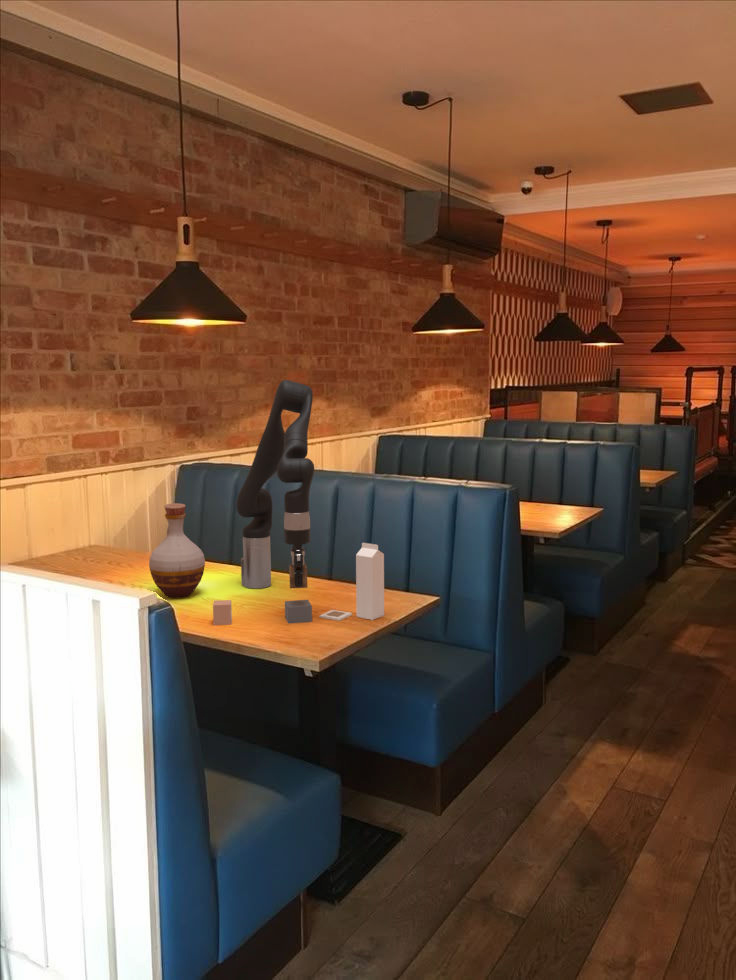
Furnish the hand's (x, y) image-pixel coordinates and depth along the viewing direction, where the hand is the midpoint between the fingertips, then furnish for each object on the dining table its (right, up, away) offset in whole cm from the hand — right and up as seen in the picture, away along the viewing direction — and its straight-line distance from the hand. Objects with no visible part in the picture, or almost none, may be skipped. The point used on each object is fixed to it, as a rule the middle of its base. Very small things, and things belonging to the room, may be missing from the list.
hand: (298, 583), depth 244 cm
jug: (-42, -7, +30) cm, 52 cm away
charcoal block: (0, -11, +1) cm, 11 cm away
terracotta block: (-22, -11, -1) cm, 25 cm away
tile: (+11, -10, +4) cm, 15 cm away
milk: (+21, -10, +4) cm, 24 cm away
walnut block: (0, -1, 0) cm, 1 cm away
